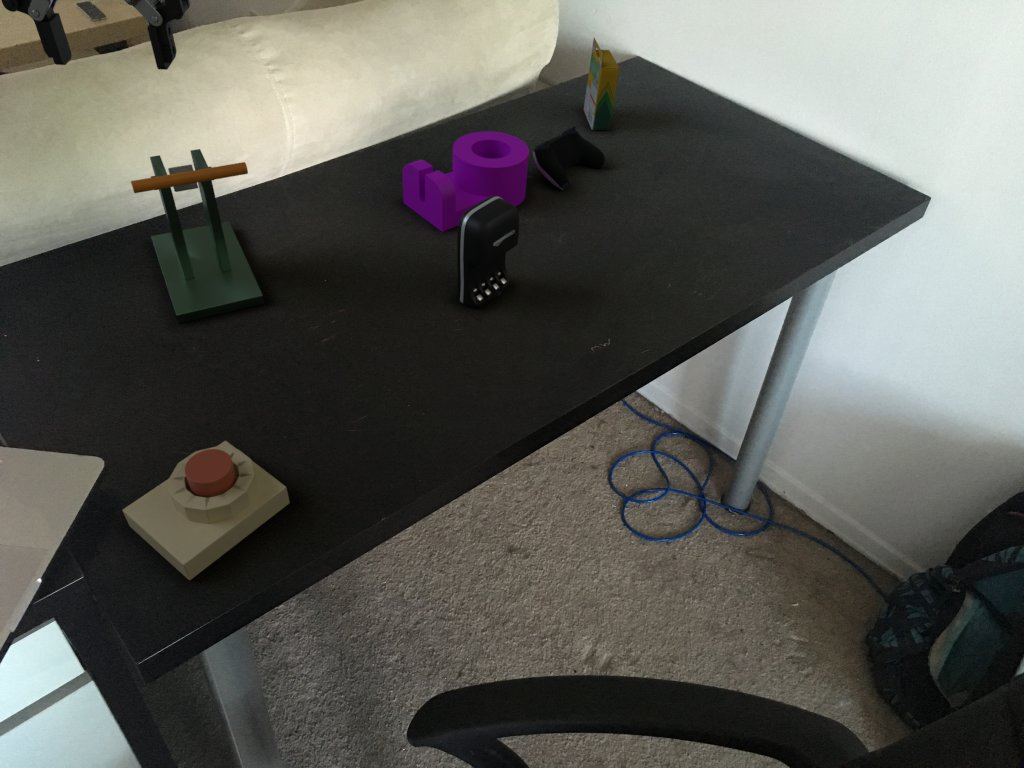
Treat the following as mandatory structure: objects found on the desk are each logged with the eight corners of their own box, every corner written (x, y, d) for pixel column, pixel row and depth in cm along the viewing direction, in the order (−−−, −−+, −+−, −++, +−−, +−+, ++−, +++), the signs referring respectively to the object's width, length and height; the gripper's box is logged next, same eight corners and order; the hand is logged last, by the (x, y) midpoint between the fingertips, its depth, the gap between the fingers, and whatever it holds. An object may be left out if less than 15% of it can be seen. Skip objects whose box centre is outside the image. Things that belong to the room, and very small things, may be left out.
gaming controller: (589, 174, 116) (566, 131, 115) (610, 161, 113) (586, 117, 112) (546, 200, 110) (520, 155, 109) (567, 188, 106) (540, 141, 105)
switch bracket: (264, 304, 86) (242, 192, 77) (178, 324, 83) (145, 209, 73) (230, 229, 96) (207, 122, 87) (153, 244, 93) (120, 135, 83)
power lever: (250, 180, 73) (243, 154, 73) (136, 201, 70) (128, 173, 69) (233, 181, 85) (227, 158, 84) (135, 198, 81) (127, 175, 80)
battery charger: (480, 316, 87) (484, 227, 79) (454, 302, 89) (455, 213, 81) (519, 288, 91) (526, 201, 83) (493, 275, 93) (498, 188, 85)
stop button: (208, 504, 62) (203, 490, 61) (180, 481, 64) (175, 467, 62) (245, 477, 64) (241, 464, 63) (217, 456, 66) (213, 442, 64)
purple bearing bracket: (493, 166, 112) (495, 125, 107) (540, 196, 106) (544, 154, 102) (400, 200, 104) (398, 156, 99) (445, 234, 98) (446, 189, 94)
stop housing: (189, 581, 61) (177, 551, 58) (129, 526, 64) (115, 495, 62) (290, 503, 67) (283, 472, 64) (230, 456, 70) (221, 425, 68)
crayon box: (610, 131, 122) (622, 55, 114) (591, 131, 122) (602, 55, 114) (601, 110, 127) (611, 37, 119) (583, 110, 127) (592, 36, 119)
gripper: (-74, -154, 55) (13, 78, 66) (138, -141, 56) (188, 85, 67) (-27, -173, 60) (46, 44, 71) (166, -161, 61) (208, 51, 72)
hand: (115, 64), depth 69 cm, fingers open, 8 cm apart
